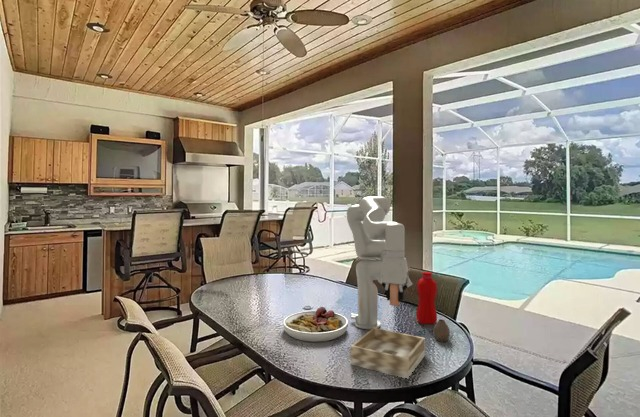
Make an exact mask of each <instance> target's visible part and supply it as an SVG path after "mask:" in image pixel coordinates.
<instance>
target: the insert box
mask: <svg viewBox="0 0 640 417" xmlns="http://www.w3.org/2000/svg"><path fill="white" fill-rule="evenodd" d="M425 356H426V338H425V337H423V336H417V335H412V334H408V333H403V332H397V331H392V330H388V329H383V328H372V329H369V330H368V331H367V332H366V333H365V334H364V335H363V336H361V337H360V338H358V340H356V341H355V342H354V343H352V344H351V345H350V365H352V366H355V367H358V368H359V367H360V368H364V369H368V370H371V371H374V370H375V372H378V371H379V373H382V374H387V375H391V376H393V375H394V376H393V377H397V376H398V378H401V377H402V378H401V379H405V378H407V379H406V380H409V378H410V377H411V376H412V374H413V373H414V371H415V370H416V369H415V368H417V367H418V366H419V365H420V363H421V361H422V360H423V359H424V357H425ZM412 372H413V373H412ZM409 376H410V377H409Z"/></svg>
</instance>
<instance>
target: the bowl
mask: <svg viewBox="0 0 640 417" xmlns="http://www.w3.org/2000/svg"><path fill="white" fill-rule="evenodd" d="M282 325H283V329H284V331H285V332H286V334H287V335H288V336H290V337H292V338H293V339H296V340H298V341H304V342H312V343H314V342H317V343H318V342H327V341H331V340H335V339H337V338H339V337H341V336H343V335H344V333H345V332H346V331H347V329H348V326H349V320H348V319H347V317H345V316H344V315H343V314H339V313H336V312H335V311H334V310H330V309H329V310H327V309H326V308H325V307H323V306H320V307H318V308H317V309H316V310H307V311H305V310H304V311H300V312H296V313H292V314H290V315H288V316H287V317H285V318H284V320H283V323H282Z"/></svg>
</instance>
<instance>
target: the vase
mask: <svg viewBox="0 0 640 417" xmlns="http://www.w3.org/2000/svg"><path fill="white" fill-rule="evenodd" d="M432 331H433V337H434V338H435V339H436V341H438V342H442V343H443V342H446V341H448V340H449V338H450V335H451V330H450V327H449V325H448V324H447V323H446V321H445V319H441V318H440V319H438V320H437V321H436V323H435V324H434V327H433V330H432Z"/></svg>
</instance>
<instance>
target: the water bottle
mask: <svg viewBox="0 0 640 417" xmlns="http://www.w3.org/2000/svg"><path fill="white" fill-rule="evenodd" d="M437 285H438V284H437V282H436V280H434V279H433V277H432V272H431V271H423V272H422V277H421V278H420V279H418V280H417V284H416V290H417V294H418V304H417V308H416V320H417V322H418V323H419V324H422V325H435V324H436V323H437V322H438V317H437V316H438V315H437V309H436V303H435V300H436V296H437V292H438V286H437Z"/></svg>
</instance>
